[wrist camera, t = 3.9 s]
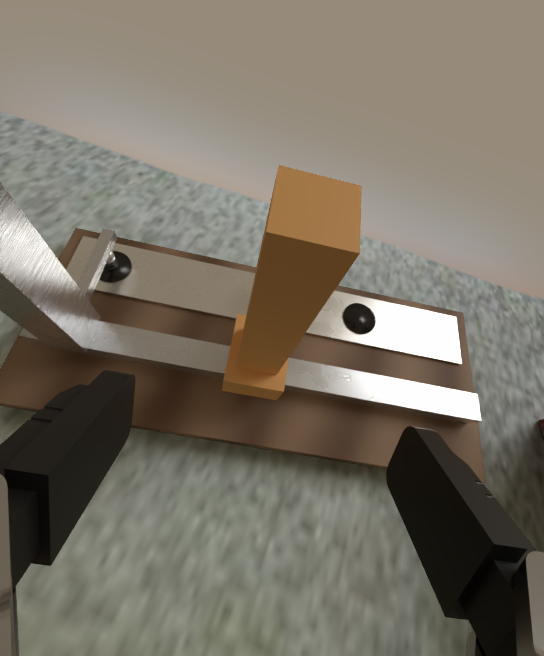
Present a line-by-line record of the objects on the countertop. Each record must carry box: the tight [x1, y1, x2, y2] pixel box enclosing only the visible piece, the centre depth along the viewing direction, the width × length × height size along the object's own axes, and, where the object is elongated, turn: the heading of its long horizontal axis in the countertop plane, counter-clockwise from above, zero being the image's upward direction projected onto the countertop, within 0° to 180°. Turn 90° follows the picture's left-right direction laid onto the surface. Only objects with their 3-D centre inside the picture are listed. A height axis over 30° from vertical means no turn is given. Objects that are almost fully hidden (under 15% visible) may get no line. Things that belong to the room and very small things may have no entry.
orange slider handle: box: [222, 165, 361, 400], centre depth 17 cm, size 4×10×16 cm, turn 171°
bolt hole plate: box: [66, 236, 462, 365], centre depth 26 cm, size 32×4×1 cm, turn 81°
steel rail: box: [0, 182, 481, 424], centre depth 17 cm, size 32×9×16 cm, turn 81°
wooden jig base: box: [0, 228, 486, 483], centre depth 25 cm, size 34×14×2 cm, turn 81°
